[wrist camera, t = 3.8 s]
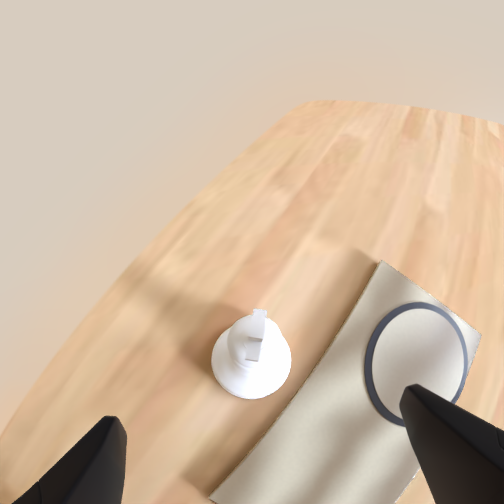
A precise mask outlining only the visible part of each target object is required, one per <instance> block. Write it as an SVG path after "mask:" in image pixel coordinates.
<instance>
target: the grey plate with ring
mask: <svg viewBox="0 0 504 504" xmlns="http://www.w3.org/2000/svg"><path fill="white" fill-rule="evenodd" d="M480 339H481V334H480V333H479V332H477V331H476V330H475V329H474V328H472V327H471V326H470V325H469V324H467V323H466V322H465V321H464V320H462V319H461V318H460V317H459V316H457V315H456V314H455V313H454V312H452V311H451V310H450V309H448V308H447V307H446V306H445V305H443V304H442V303H441V302H439V301H438V300H437V299H435V298H434V297H433V296H431V295H430V294H429V293H427V292H426V291H425V290H423V289H422V288H421V287H419V286H418V285H417V284H415V283H414V282H413V281H411V280H410V279H408V278H407V277H406V276H404V275H403V274H401V273H400V272H399V271H397V270H396V269H394V268H393V267H392V266H390V265H389V264H387V263H386V262H385V261H383V260H381V261H380V262H379V263H378V265H377V267H376V269H375V270H374V272H373V274H372V276H371V278H370V279H369V281H368V283H367V285H366V287H365V288H364V290H363V292H362V294H361V295H360V297H359V299H358V300H357V302H356V304H355V305H354V307H353V309H352V310H351V312H350V314H349V315H348V317H347V319H346V320H345V322H344V324H343V325H342V327H341V328H340V330H339V331H338V333H337V335H336V336H335V338H334V339H333V341H332V342H331V344H330V345H329V347H328V348H327V350H326V351H325V353H324V354H323V356H322V357H321V359H320V360H319V362H318V363H317V365H316V366H315V368H314V369H313V370H312V372H311V373H310V375H309V376H308V378H307V379H306V380H305V382H304V383H303V385H302V386H301V387H300V389H299V390H298V391H297V393H296V394H295V395H294V397H293V398H292V399H291V401H290V402H289V403H288V405H287V406H286V407H285V409H284V410H283V411H282V413H281V414H280V415H279V416H278V418H277V419H276V420H275V421H274V423H273V424H272V425H271V426H270V428H269V429H268V430H267V431H266V433H265V434H264V435H263V436H262V437H261V439H260V440H259V441H258V442H257V443H256V445H255V446H254V447H253V448H252V449H251V450H250V452H249V453H248V454H247V455H246V456H245V457H244V458H243V460H242V461H241V462H240V463H239V464H238V465H237V466H236V467H235V469H234V470H233V471H232V472H231V473H230V474H229V475H228V476H227V477H226V478H225V479H224V480H223V481H222V482H221V484H220V485H219V486H218V487H217V488H216V489H215V490H214V491H213V492H212V493H211V494H210V495H209V499H211V500H212V501H214V502H215V503H217V504H395V503H396V501H397V500H398V499H399V497H400V496H401V495H402V493H403V492H404V491H405V489H406V488H407V486H408V485H409V484H410V482H411V481H412V479H413V478H414V476H415V475H416V473H417V472H418V470H419V469H420V464H419V462H418V460H417V457H416V455H415V453H414V451H413V448H412V446H411V443H410V440H409V437H408V434H407V431H406V428H405V424H404V421H403V418H402V415H401V412H400V409H399V402H400V399H401V397H402V394H403V391H404V389H405V387H406V386H408V385H412V384H415V383H417V384H419V385H421V386H423V387H425V388H427V389H428V390H430V391H432V392H434V393H435V394H437V395H439V396H441V397H442V398H444V399H446V400H448V401H450V402H451V403H453V404H455V403H456V401H457V400H458V398H459V396H460V394H461V392H462V390H463V387H464V384H465V380H466V378H467V375H468V373H469V370H470V367H471V365H472V362H473V359H474V357H475V354H476V351H477V348H478V345H479V342H480Z"/></svg>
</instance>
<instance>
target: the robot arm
mask: <svg viewBox="0 0 504 504" xmlns="http://www.w3.org/2000/svg"><path fill="white" fill-rule="evenodd" d="M399 409H400V412H401V415H402V418H403V421H404V424H405V428H406V431H407V434H408V437H409V440H410V443H411V446H412V448H413V451H414V453H415V455H416V457H417V460H418V462H419V464H420V467H421V469H422V471H423V474H424V476H425V478H426V481H427V483H428V486H429V488H430V491H431V493H432V495H433V498H434V500H435V503H436V504H504V431H503V430H501V429H499V428H496V427H495V426H494V425H492V424H490V423H488V422H486V421H484V420H482V419H481V418H479V417H477V416H475V415H473V414H471V413H470V412H468V411H466V410H464V409H462V408H460V407H459V406H457V405H455V404H453V403H451V402H450V401H448V400H446V399H444V398H442V397H441V396H439V395H437V394H435V393H434V392H432V391H430V390H428V389H427V388H425V387H423V386H421V385H419V384H417V383H415V384H412V385H408V386H406V387H405V389H404V391H403V394H402V397H401V399H400V402H399ZM126 446H127V434H126V431H125V429H124V427H123V426H122V424H121V422H120V420H119V419H118V418H117V417H116V416H104V417H103V418H102V419H101V420H100V421H99V422H98V423H97V424H96V425H95V426H94V427H93V428H92V429H91V430H90V431H89V432H88V433H87V434H85V435H84V436H83V437H82V438H81V439H80V440H79V441H78V442H77V443H76V444H75V445H74V446H73V447H72V448H71V449H70V450H69V451H68V452H67V453H66V454H65V455H64V456H63V457H62V458H61V459H60V460H59V461H58V462H57V463H56V464H55V465H54V466H53V467H52V468H51V469H50V470H49V471H48V472H47V473H46V474H44V475H43V476H42V477H41V478H40V479H39V482H38V481H37V482H36V483H35V484H34V485H33V486H32V487H31V488H30V489H29V490H28V491H26V492H25V493H24V494H23V495H22V496H21V497H19V498H18V499H17V500H16V501H14V502H13V503H12V504H121V500H122V493H123V487H124V480H125V464H126Z"/></svg>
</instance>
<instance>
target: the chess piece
mask: <svg viewBox="0 0 504 504" xmlns="http://www.w3.org/2000/svg"><path fill="white" fill-rule="evenodd" d="M266 314H267V310H261V309H255V308H254V311H253V315H248V316H245V317H242V318H241V319H239V320H238V321H236V322H235V323H234V324H233V326H232V327H230V328H228V329H227V330H226V331H224V332H223V333H222V334H221V336H220V337H219V338H218V340H217V341H216V343H215V345H214V348H213V351H212V357H211V364H212V370H213V373H214V376H215V378H216V379H217V381H218V382H219V384H220V385H221V386H222V387H223V388H224V389H225V390H226V391H228V392H229V393H231V394H233V395H235V396H237V397H240V398H245V399H257V398H262V397H265V396H268V395H270V394H272V393H273V392H275V391H276V390H277V389H279V388H280V387H281V386H282V384H283V383H284V382H285V380H286V378H287V376H288V374H289V371H290V367H291V354H290V349H289V346H288V344H287V342H286V340H285V339H284V337H283V336H282V335H281V332H280V330H279V328H278V326H277V325H276V324H275V323H274V322H273V321H272V320H270V319H269V318H267V317H266Z"/></svg>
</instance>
